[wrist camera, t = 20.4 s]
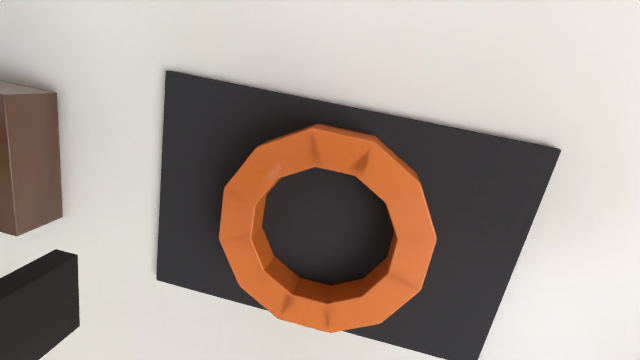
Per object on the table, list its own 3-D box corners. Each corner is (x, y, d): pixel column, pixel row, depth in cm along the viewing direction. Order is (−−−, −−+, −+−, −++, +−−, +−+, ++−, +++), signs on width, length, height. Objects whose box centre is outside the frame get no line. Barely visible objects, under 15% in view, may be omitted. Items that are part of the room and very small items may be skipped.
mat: (159, 276, 23) (156, 280, 22) (169, 70, 19) (165, 70, 18) (473, 362, 20) (474, 367, 20) (557, 148, 17) (561, 149, 16)
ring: (225, 283, 21) (211, 300, 20) (245, 108, 18) (231, 110, 17) (399, 330, 20) (401, 353, 19) (454, 151, 17) (462, 159, 15)
